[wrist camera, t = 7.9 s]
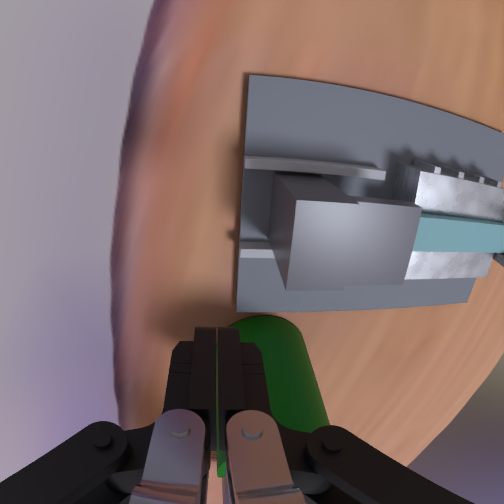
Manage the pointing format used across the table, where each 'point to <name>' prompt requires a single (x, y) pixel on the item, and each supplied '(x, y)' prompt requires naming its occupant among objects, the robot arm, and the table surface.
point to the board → (344, 178)
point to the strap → (458, 235)
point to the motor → (281, 376)
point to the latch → (338, 235)
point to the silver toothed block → (450, 214)
